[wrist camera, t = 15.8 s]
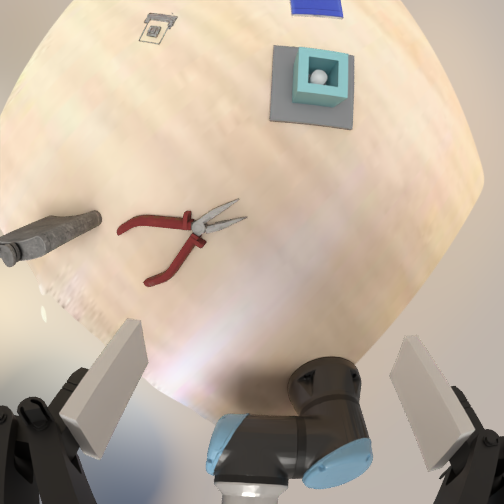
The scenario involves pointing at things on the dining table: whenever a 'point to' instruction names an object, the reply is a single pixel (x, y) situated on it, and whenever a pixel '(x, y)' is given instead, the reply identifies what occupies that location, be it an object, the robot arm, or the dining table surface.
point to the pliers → (184, 224)
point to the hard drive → (317, 8)
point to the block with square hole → (316, 93)
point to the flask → (44, 236)
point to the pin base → (306, 113)
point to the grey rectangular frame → (154, 29)
